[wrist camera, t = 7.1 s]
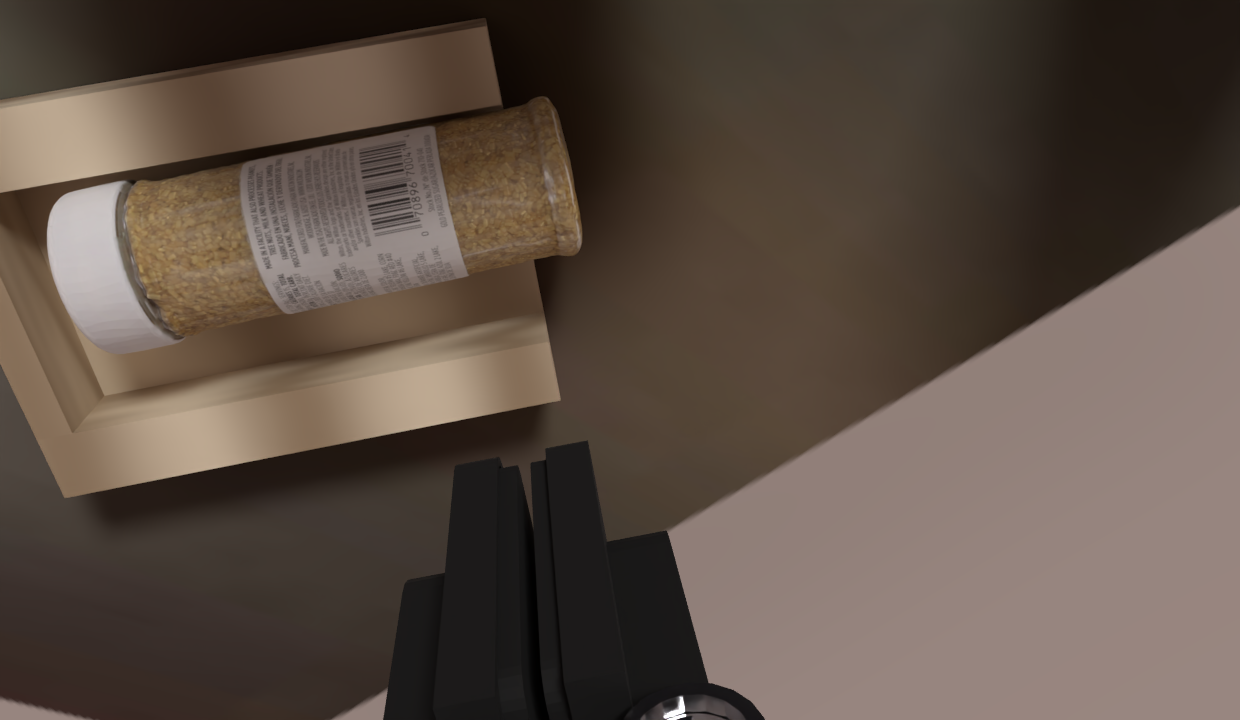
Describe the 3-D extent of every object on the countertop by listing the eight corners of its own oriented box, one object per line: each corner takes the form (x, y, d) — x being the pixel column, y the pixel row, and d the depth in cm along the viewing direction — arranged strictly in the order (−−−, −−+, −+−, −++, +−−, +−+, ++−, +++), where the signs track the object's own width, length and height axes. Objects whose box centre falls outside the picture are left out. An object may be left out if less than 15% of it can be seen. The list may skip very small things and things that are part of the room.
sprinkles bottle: (551, 104, 28) (100, 194, 27) (555, 83, 23) (16, 190, 22) (582, 253, 29) (145, 345, 28) (592, 260, 24) (72, 370, 23)
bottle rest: (485, 17, 27) (486, 26, 24) (553, 357, 31) (560, 400, 28) (-45, 107, 26) (-113, 128, 23) (105, 444, 30) (64, 498, 27)
